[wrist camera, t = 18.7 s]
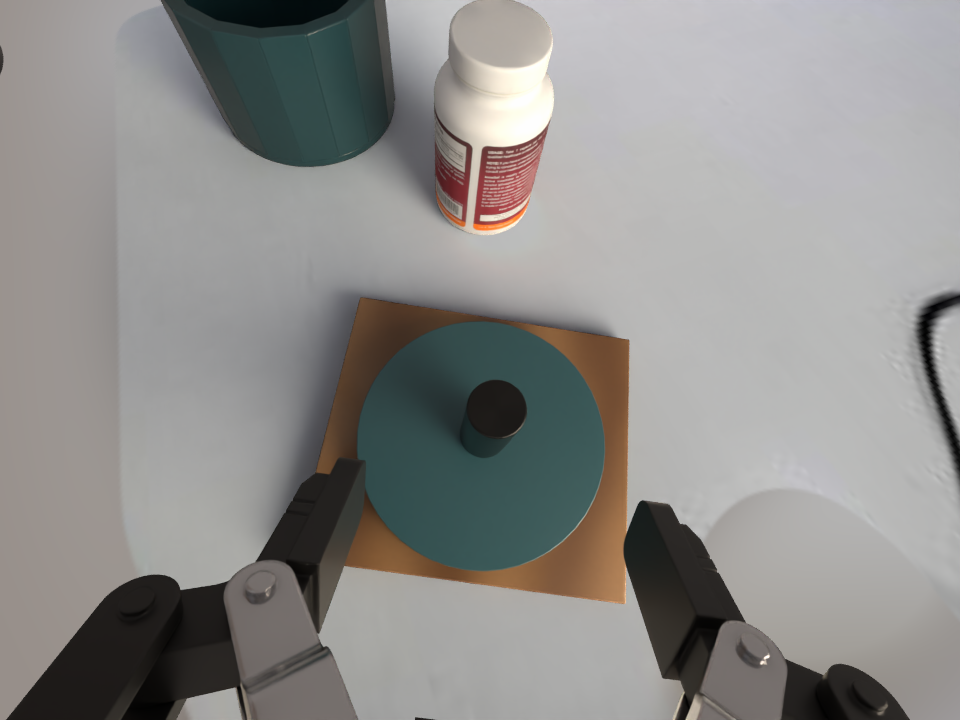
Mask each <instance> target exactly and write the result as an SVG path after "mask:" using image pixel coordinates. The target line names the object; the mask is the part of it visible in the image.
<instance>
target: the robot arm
mask: <svg viewBox="0 0 960 720" xmlns="http://www.w3.org/2000/svg"><path fill="white" fill-rule="evenodd" d="M365 476H366V461H365V460H358V459H351V458H344V457H339V458H338V459H337V461H336V463H335V465H334V467H333V469H332V471H331V473H330V474H324V473H317V472H316V473H315V474H314V475H313V476H311V477H310V478H309V479H307V480H306V481H305V482H303V483H302V484H301V486H300V488H299V489H298V491H297V493H296V494H295V496H294V498H293V501H291V503H290V505H289V506H288V508H287V510H286V513H284V515H283V517H282V518H281V520H280V522H279V523H278V525H277V527H276V528H275V530H274V532H273V534H272V535H271V537H270V539H269V540H268V542H267V544H266V545H265V547H264V549H263V551H262V552H261V554H260V556H259V557H258V559H257V560H256V562H255V563H252V564H250V565H248V566H246V567H244V568H242V569H241V570H240V571H238V572H237V573H236V574H235V575H234V576H233V577H232V578H231V579H230V580H229V581H227V582H224V583H221V584H217V585H211V586H205V587H198V588H192V589H186V590H180V587H179V585H178V583H177V582H176V581H175V580H174V579H173V578H171V577H168V576H165V575H147V576H143V577H139V578H136V579H133V580H131V581H129V582H127V583H125V584H123V585H121V586H119V587H118V588H117V589H115V590H114V591H112V592H111V593H110V594H109V595H107V596H106V598H104V600H103V601H102V602H101V603H100V604H99V606H98V607H97V608H96V609H95V610H94V612H93V613H92V614H91V615H90V617H89V618H88V619H87V620H86V621H85V623H84V624H83V625H82V626H81V628H80V629H79V630H78V631H77V633H76V634H75V635H74V636H73V638H72V639H71V640H70V642H69V643H68V644H67V645H66V646H65V648H64V649H63V650H62V651H61V653H60V654H59V655H58V656H57V657H56V659H55V660H54V661H53V662H52V664H51V665H50V666H49V667H48V669H47V670H46V671H45V672H44V674H43V675H42V676H41V677H40V679H39V680H38V681H37V682H36V683H35V685H34V686H33V687H32V689H31V690H30V691H29V692H28V693H27V695H26V696H25V697H24V698H23V700H22V701H21V702H20V704H19V705H18V706H17V707H16V708H15V710H14V711H13V712H12V713H11V715H10V716H9V717H8V718H7V719H6V720H176V718H177V717H178V715H179V713H180V711H181V709H182V707H183V705H184V703H185V701H186V699H187V698H190V697H195V696H199V695H204V694H208V693H212V692H217V691H221V690H226V689H230V688H234V687H235V688H236V693H237V698H238V703H239V707H240V712H241V717H242V720H358V718H357V715H356V713H355V710H354V708H353V705H352V702H351V700H350V697H349V695H348V692H347V690H346V687H345V684H344V682H343V679H342V677H341V674H340V672H339V669H338V666H337V664H336V661H335V659H334V656H333V654H332V652H331V651H330V649H329V648H328V647H327V646H326V647H323V646H322V644H321V642H320V640H319V637H318V635H317V633H318V634H319V633H320V630H321V628H322V625H323V622H324V619H325V617H326V614H327V611H328V608H329V606H330V603H331V600H332V597H333V595H334V592H335V589H336V586H337V584H338V581H339V578H340V576H341V573H342V570H343V567H344V565H345V562H346V559H347V556H348V554H349V551H350V548H351V545H352V543H353V540H354V537H355V535H356V532H357V529H358V526H359V523H360V520H361V516H362V512H363V506H364V494H365ZM623 555H624V561H625V564H626V567H627V570H628V573H629V576H630V579H631V582H632V586H633V589H634V592H635V595H636V598H637V601H638V604H639V607H640V610H641V613H642V616H643V619H644V622H645V626H646V629H647V632H648V635H649V638H650V641H651V644H652V647H653V650H654V653H655V656H656V659H657V662H658V666H659V669H660V672H661V675H662V678H664V679H672V680H680V681H681V684H682V686H683V689H684V692H683V693H682V695H681V697H680V699H679V702H678V705H677V708H676V710H675V713H674V716H673V719H672V720H910V719H909V718H908V717H907V715H906V714H905V712H904V711H903V709H902V708H901V706H900V705H899V704H898V702H897V701H896V700H895V698H894V697H893V696H892V695H891V694H890V693H889V692H888V691H887V690H886V689H885V688H884V687H883V686H882V685H881V684H880V683H879V682H877V681H876V680H875V679H873V678H872V677H870V676H869V675H867V674H866V673H864V672H863V671H861V670H859V669H857V668H854V667H852V666H848V665H844V664H836V665H833V666H831V667H830V668H829V669H828V671H827V672H826V673H825V674H824V675H822V674H819V673H817V672H814V671H812V670H810V669H807V668H805V667H803V666H800V665H798V664H795V663H793V662H791V661H788V660H787V659H785V658H784V656H783V655H782V653H781V651H780V650H779V648H778V647H777V646H776V645H775V643H774V642H773V641H772V640H771V639H770V638H769V637H768V636H766V635H765V634H764V633H763V632H761V631H760V630H758V629H757V628H755V627H753V626H751V625H749V624H747V623H746V622H745V620H744V618H743V617H742V615H741V613H740V611H739V609H738V607H737V605H736V604H735V602H734V600H733V598H732V596H731V594H730V593H729V591H728V589H727V587H726V586H725V583H724V581H723V580H722V578H721V576H720V574H719V573H717V569H716V567H715V565H714V563H713V561H712V560H711V559H710V556H709V554H708V552H707V550H706V548H705V546H704V545H703V543H702V541H701V539H700V538H699V537H698V536H697V535H696V534H695V533H694V532H693V531H692V530H691V529H690V528H689V527H688V526H687V525H684V524H680V523H679V521H678V519H677V517H676V515H675V513H674V511H673V509H672V508H671V506H670V505H669V504H665V503H658V502H651V501H644V500H642V501H640V502H639V504H638V506H637V508H636V511H635V513H634V516H633V518H632V521H631V523H630V526H629V529H628V531H627V534H626V536H625V539H624V545H623ZM415 720H433V719H425V718H416V717H415Z"/></svg>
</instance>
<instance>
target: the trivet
mask: <svg viewBox="0 0 960 720" xmlns="http://www.w3.org/2000/svg"><path fill="white" fill-rule="evenodd" d="M474 321H486V322H496V323H502V324H506V325H511V326H514V327H517V328H520V329H523V330H526V331H528V332H530V333H532V334H534V335H536V336H538V337H540V338H542V339H543V340H545V341H547V342H548V343H550V344H551V345H553V346H554V347H555V348H556V349H558V350H559V351H560V352H561V353H562V354H564V355H565V356H566V357H567V358H568V359H569V360H570V362H571V363H572V364H573V365H574V366H575V367H576V368H577V370H578V371H579V372H580V374H581V375H582V376H583V378H584V379H585V381H586V383H587V384H588V386H589V388H590V390H591V391H592V394H593V396H594V398H595V401H596V403H597V405H598V408H599V412H600V415H601V419H602V423H603V430H604V436H605V458H604V469H603V473H602V477H601V482H600V485H599V488H598V491H597V493H596V496H595V499H594V501H593V503H592V505H591V506H590V508H589V510H588V512H587V514H586V515H585V517H584V518H583V520H582V521H581V522H580V524H579V525H578V526H577V528H576V529H575V530H574V531H573V532H572V533H571V534H570V535H569V536H568V537H567V538H566V539H565V540H564V541H563V542H562V543H560V544H559V545H558V546H556V547H555V548H554V549H552V550H551V551H550V552H548V553H546V554H544V555H543V556H541V557H539V558H537V559H536V560H533V561H530V562H528V563H525V564H523V565H520V566H517V567H512V568H508V569H504V570H495V571H471V570H463V569H458V568H453V567H449V566H446V565H443V564H440V563H438V562H435V561H432V560H430V559H428V558H426V557H425V556H423V555H421V554H419V553H417V552H415V551H414V550H413V549H411V548H410V547H409V546H407V545H406V544H405V543H403V542H402V541H401V540H400V539H399V538H398V537H397V536H396V535H395V534H394V533H393V532H392V531H391V530H390V529H389V528H388V527H387V526H386V525H385V523H384V522H383V521H382V519H381V518H380V517H379V515H378V514H377V512H376V511H375V509H374V507H373V505H372V504H371V502H370V500H369V498H368V495H367V493H366V490H365V494H364V506H363V512H362V516H361V520H360V523H359V526H358V529H357V532H356V535H355V537H354V540H353V543H352V545H351V548H350V551H349V554H348V556H347V559H346V562H345V565H344V566H349V567H356V568H363V569H371V570H378V571H385V572H393V573H400V574H407V575H415V576H422V577H429V578H437V579H444V580H452V581H459V582H466V583H474V584H481V585H488V586H496V587H503V588H510V589H518V590H525V591H532V592H540V593H547V594H554V595H562V596H569V597H576V598H584V599H591V600H598V601H606V602H613V603H620V604H625V602H626V564H625V561H624V555H623V545H624V539H625V536H626V534H627V466H628V397H629V340H627V339H621V338H614V337H608V336H602V335H595V334H589V333H583V332H577V331H570V330H564V329H558V328H551V327H545V326H539V325H533V324H526V323H520V322H514V321H507V320H501V319H495V318H488V317H482V316H476V315H470V314H463V313H457V312H451V311H444V310H438V309H432V308H426V307H419V306H413V305H407V304H400V303H394V302H388V301H382V300H375V299H369V298H363V297H361V298H360V300H359V304H358V308H357V312H356V316H355V320H354V324H353V327H352V331H351V335H350V339H349V343H348V347H347V351H346V355H345V359H344V363H343V367H342V370H341V374H340V378H339V382H338V386H337V390H336V394H335V398H334V402H333V406H332V410H331V413H330V417H329V421H328V425H327V429H326V433H325V437H324V441H323V445H322V449H321V452H320V456H319V460H318V464H317V468H316V472H317V473H324V474H330V473H331V471H332V469H333V467H334V465H335V463H336V461H337V459H338V458H339V457H344V458H351V459H358V458H357V429H358V423H359V417H360V413H361V410H362V407H363V403H364V400H365V398H366V396H367V393H368V391H369V389H370V387H371V385H372V383H373V382H374V380H375V378H376V377H377V375H378V374H379V372H380V371H381V370H382V368H383V367H384V366H385V365H386V363H387V362H388V361H389V360H390V359H391V358H392V357H393V356H394V355H395V354H396V353H397V352H398V351H399V350H400V349H402V348H403V347H405V346H406V345H407V344H409V343H410V342H411V341H413V340H415V339H416V338H418V337H420V336H422V335H424V334H425V333H428V332H430V331H433V330H435V329H437V328H440V327H444V326H447V325H451V324H456V323H463V322H474ZM316 472H315V473H316Z"/></svg>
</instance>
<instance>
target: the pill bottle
mask: <svg viewBox="0 0 960 720" xmlns="http://www.w3.org/2000/svg"><path fill="white" fill-rule="evenodd" d="M552 45H553V37H552V33H551V29H550V27H549V25H548V24H547V22H546V21H545V19H544V18H543V17H542V16H541V15H540V14H538V13H537V12H536V11H534V10H533V9H531V8H530V7H528V6H526V5H524V4H521V3H518V2H516V1H512V0H478V1H475V2H471V3H469V4H467V5H465V6H464V7H463V8H461V9H460V10H459V11H458V12H457V13H456V14H455V16H454V17H453V19H452V21H451V24H450V30H449V51H448V55H449V59H448V60H447V61H446V62H445V63H444V64H443V66H442V67H441V69H440V71H439V73H438V75H437V78H436V81H435V87H434V122H435V177H436V198H437V202H438V206H439V208H440V210H441V212H442V214H443V215H444V216H445V218H446V219H447V220H448V221H449V222H450V223H451V224H452V225H454V226H455V227H457V228H459V229H461V230H463V231H465V232H468V233H472V234H477V235H492V234H497V233H501V232H504V231H506V230H508V229H510V228H511V227H513V226H514V225H516V224H517V223H518V222H519V221H520V219H521V218H522V216H523V215H524V213H525V211H526V208H527V205H528V203H529V199H530V195H531V191H532V187H533V183H534V180H535V176H536V172H537V168H538V164H539V161H540V157H541V153H542V149H543V145H544V141H545V137H546V134H547V130H548V126H549V123H550V119H551V114H552V110H553V105H554V91H553V86H552V83H551V80H550V78H549V76H548V74H547V72H546V70H547V68H548V63H549V59H550V55H551V50H552Z"/></svg>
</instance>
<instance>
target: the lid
mask: <svg viewBox="0 0 960 720" xmlns="http://www.w3.org/2000/svg"><path fill="white" fill-rule="evenodd" d="M357 458H358V460H365V461H366V476H365V490H366V493H367V495H368V498H369V500H370V502H371V504H372V505H373V507H374V509H375V511H376V512H377V514H378V515H379V517H380V518H381V519H382V521H383V522H384V523H385V525H386V526H387V527H388V528H389V529H390V530H391V531H392V532H393V533H394V534H395V535H396V536H397V537H398V538H399V539H400V540H401V541H402V542H403V543H405V544H406V545H407V546H409V547H410V548H411V549H413V550H414V551H415V552H417V553H419V554H421V555H423V556H425V557H426V558H428V559H430V560H432V561H435V562H438V563H440V564H443V565H446V566H449V567H453V568H458V569H463V570H471V571H495V570H504V569H508V568H512V567H517V566H520V565H523V564H525V563H528V562H530V561H533V560H536V559H537V558H539V557H541V556H543V555H544V554H546V553H548V552H550V551H551V550H552V549H554V548H555V547H556V546H558V545H559V544H560V543H562V542H563V541H564V540H565V539H566V538H567V537H568V536H569V535H570V534H571V533H572V532H573V531H574V530H575V529H576V528H577V526H578V525H579V524H580V522H581V521H582V520H583V518H584V517H585V515H586V514H587V512H588V510H589V508H590V506H591V505H592V503H593V501H594V499H595V496H596V493H597V491H598V488H599V485H600V482H601V477H602V473H603V469H604V458H605V436H604V430H603V423H602V419H601V415H600V412H599V408H598V405H597V403H596V401H595V398H594V396H593V394H592V391H591V390H590V388H589V386H588V384H587V383H586V381H585V379H584V378H583V376H582V375H581V374H580V372H579V371H578V370H577V368H576V367H575V366H574V365H573V364H572V363H571V362H570V360H569V359H568V358H567V357H566V356H565V355H564V354H562V353H561V352H560V351H559V350H558V349H556V348H555V347H554V346H553V345H551V344H550V343H548V342H547V341H545V340H543V339H542V338H540V337H538V336H536V335H534V334H532V333H530V332H528V331H526V330H523V329H520V328H517V327H514V326H511V325H506V324H502V323H496V322H486V321H474V322H463V323H456V324H451V325H447V326H444V327H440V328H437V329H435V330H433V331H430V332H428V333H425V334H424V335H422V336H420V337H418V338H416V339H415V340H413V341H411V342H410V343H409V344H407V345H406V346H405V347H403V348H402V349H400V350H399V351H398V352H397V353H396V354H395V355H394V356H393V357H392V358H391V359H390V360H389V361H388V362H387V363H386V365H385V366H384V367H383V368H382V370H381V371H380V372H379V374H378V375H377V377H376V378H375V380H374V382H373V383H372V385H371V387H370V389H369V391H368V393H367V396H366V398H365V400H364V403H363V407H362V410H361V413H360V417H359V423H358V429H357Z"/></svg>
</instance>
